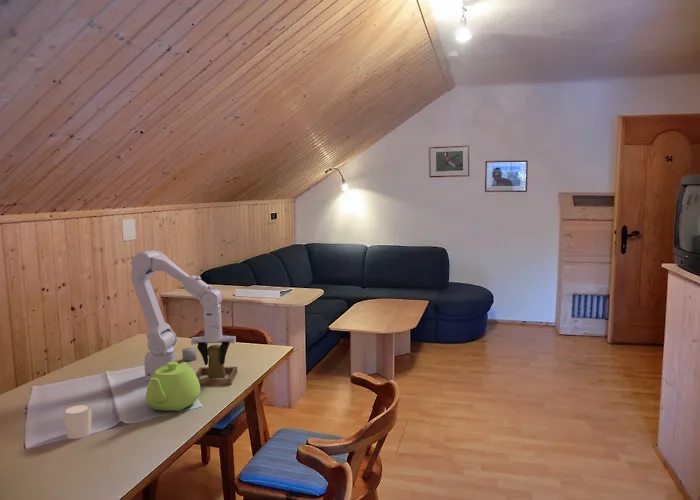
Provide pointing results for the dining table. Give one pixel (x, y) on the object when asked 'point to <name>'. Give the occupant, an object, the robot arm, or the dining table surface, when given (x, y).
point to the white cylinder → (78, 421)
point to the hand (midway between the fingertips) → (214, 363)
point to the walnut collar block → (216, 380)
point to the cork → (215, 362)
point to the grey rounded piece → (189, 354)
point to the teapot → (173, 387)
